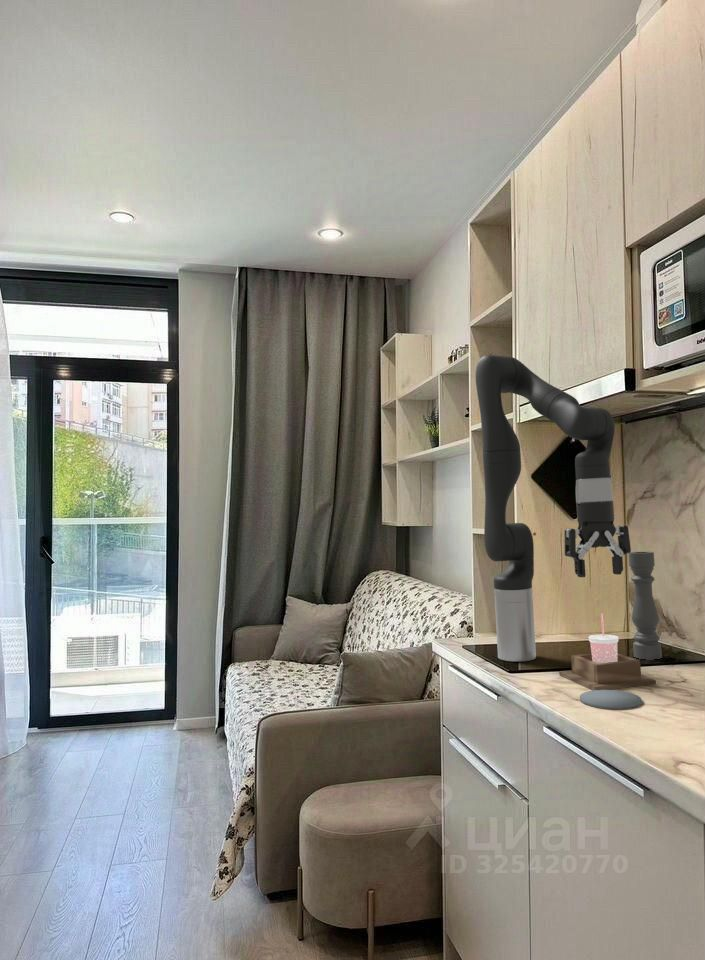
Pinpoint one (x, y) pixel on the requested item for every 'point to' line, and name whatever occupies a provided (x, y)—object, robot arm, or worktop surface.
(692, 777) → the worktop surface
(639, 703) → the slate coaster
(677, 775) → the worktop surface
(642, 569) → the candle holder
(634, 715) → the worktop surface
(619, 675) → the stepped square tray
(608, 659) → the beverage cup
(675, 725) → the worktop surface
